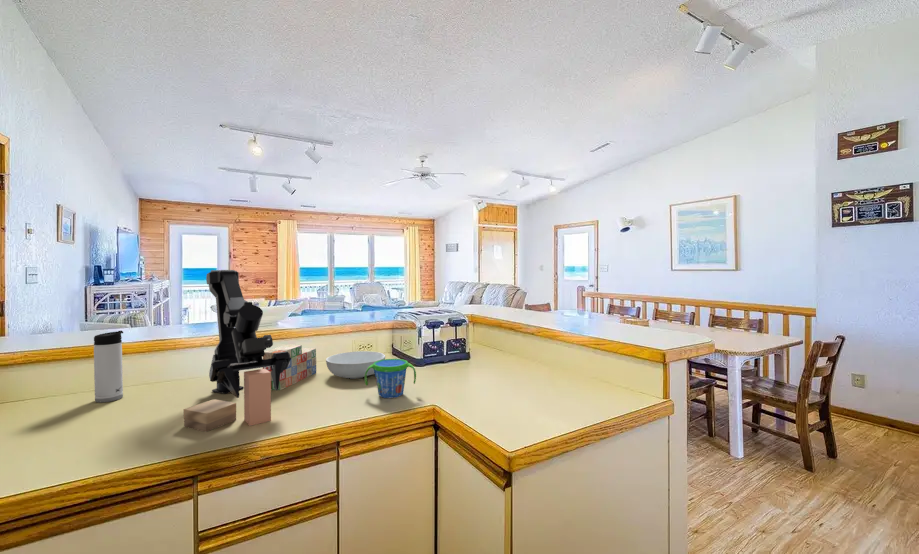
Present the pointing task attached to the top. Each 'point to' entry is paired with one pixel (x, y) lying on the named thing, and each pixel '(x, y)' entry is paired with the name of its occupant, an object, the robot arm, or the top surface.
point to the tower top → (209, 411)
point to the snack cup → (390, 376)
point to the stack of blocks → (294, 364)
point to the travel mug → (108, 367)
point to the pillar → (257, 396)
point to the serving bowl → (353, 363)
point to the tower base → (211, 425)
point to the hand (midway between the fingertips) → (258, 393)
